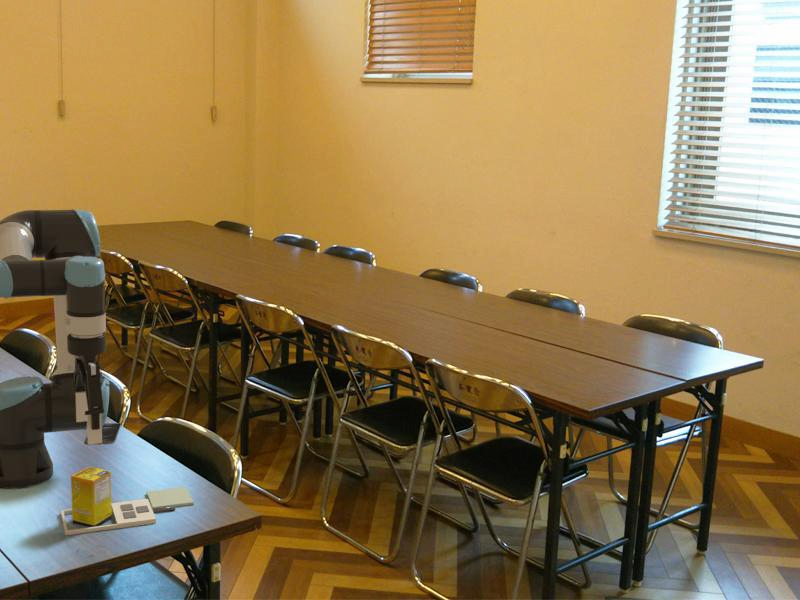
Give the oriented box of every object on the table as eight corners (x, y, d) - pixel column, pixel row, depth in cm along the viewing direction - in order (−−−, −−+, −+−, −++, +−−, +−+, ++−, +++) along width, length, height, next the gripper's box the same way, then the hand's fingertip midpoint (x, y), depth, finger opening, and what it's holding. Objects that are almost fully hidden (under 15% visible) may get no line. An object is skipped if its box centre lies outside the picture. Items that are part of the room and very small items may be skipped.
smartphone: (121, 423, 264) (114, 441, 249) (121, 426, 264) (114, 444, 250) (93, 423, 263) (85, 441, 248) (93, 426, 263) (85, 445, 248)
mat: (146, 494, 219) (146, 491, 219) (185, 489, 223) (185, 486, 222) (153, 509, 211) (153, 507, 211) (193, 504, 215) (193, 502, 214)
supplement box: (90, 513, 208) (88, 466, 206) (112, 518, 206) (111, 470, 204) (71, 523, 203) (69, 475, 200) (94, 529, 201) (93, 480, 198)
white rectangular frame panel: (61, 513, 207) (60, 508, 207) (170, 500, 216) (170, 495, 216) (65, 535, 197) (65, 529, 197) (179, 519, 207) (179, 514, 206)
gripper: (57, 320, 203) (60, 414, 207) (77, 351, 181) (80, 455, 186) (94, 317, 206) (96, 410, 211) (118, 348, 185) (119, 450, 189)
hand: (88, 431), depth 198 cm, fingers open, 13 cm apart
